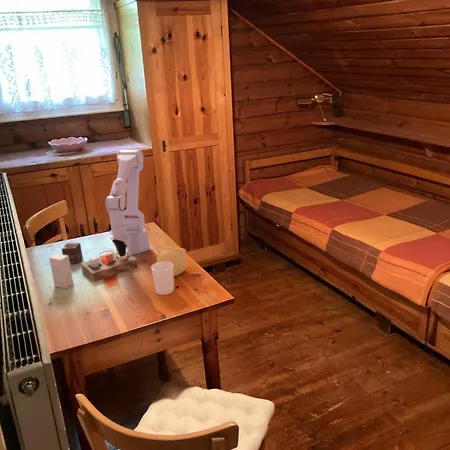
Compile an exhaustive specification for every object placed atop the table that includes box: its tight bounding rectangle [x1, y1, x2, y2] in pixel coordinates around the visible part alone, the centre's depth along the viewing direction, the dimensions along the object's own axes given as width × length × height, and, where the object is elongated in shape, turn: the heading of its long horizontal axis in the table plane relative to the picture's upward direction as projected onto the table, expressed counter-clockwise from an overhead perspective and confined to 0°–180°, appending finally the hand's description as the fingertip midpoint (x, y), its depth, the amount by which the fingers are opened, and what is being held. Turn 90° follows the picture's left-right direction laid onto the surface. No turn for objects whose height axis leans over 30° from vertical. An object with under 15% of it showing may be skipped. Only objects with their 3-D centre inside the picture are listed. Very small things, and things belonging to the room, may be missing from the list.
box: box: [61, 242, 83, 265], centre depth 209 cm, size 6×6×7 cm
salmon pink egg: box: [105, 252, 114, 264], centre depth 200 cm, size 4×4×4 cm
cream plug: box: [118, 254, 127, 260], centre depth 204 cm, size 4×4×4 cm
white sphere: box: [88, 256, 100, 269], centre depth 196 cm, size 4×4×4 cm
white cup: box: [150, 261, 175, 296], centre depth 180 cm, size 8×8×10 cm
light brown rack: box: [80, 251, 139, 282], centre depth 201 cm, size 19×12×4 cm, turn 127°
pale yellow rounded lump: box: [156, 245, 188, 277], centre depth 194 cm, size 12×12×11 cm
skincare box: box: [49, 253, 74, 289], centre depth 188 cm, size 6×4×12 cm
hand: (122, 255), depth 203 cm, fingers closed, pressing on cream plug
